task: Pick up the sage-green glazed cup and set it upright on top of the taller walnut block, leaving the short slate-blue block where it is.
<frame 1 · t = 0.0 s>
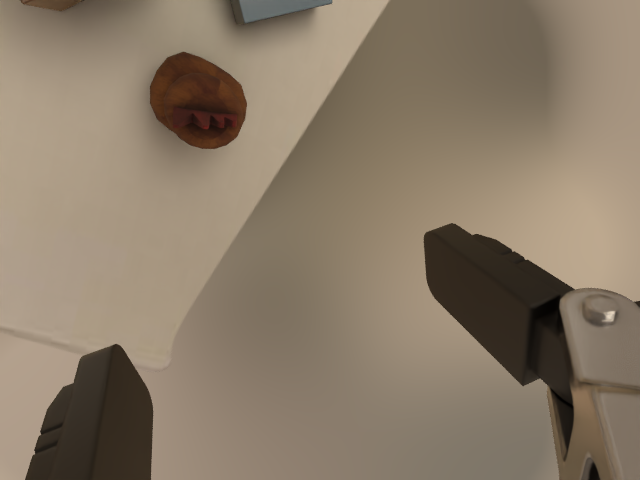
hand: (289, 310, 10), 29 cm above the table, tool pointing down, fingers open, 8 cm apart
wooden figurine: (195, 93, 34), on the table
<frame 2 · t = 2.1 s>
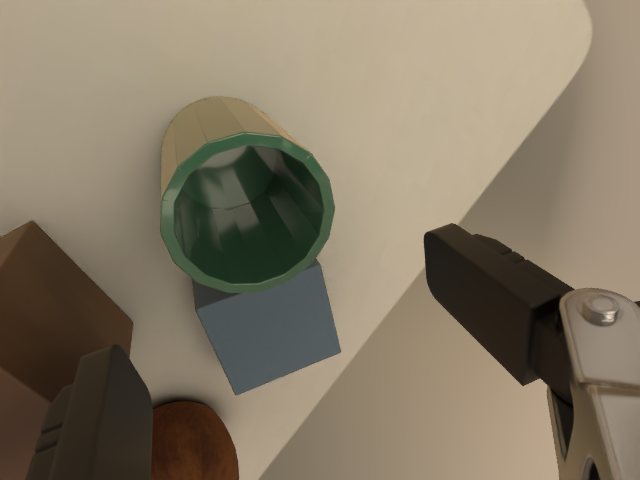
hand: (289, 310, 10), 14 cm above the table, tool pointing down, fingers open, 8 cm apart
wooden figurine: (179, 416, 29), on the table
cup: (224, 157, 22), on the table
walnut block: (21, 312, 22), on the table
slate block: (262, 295, 27), on the table
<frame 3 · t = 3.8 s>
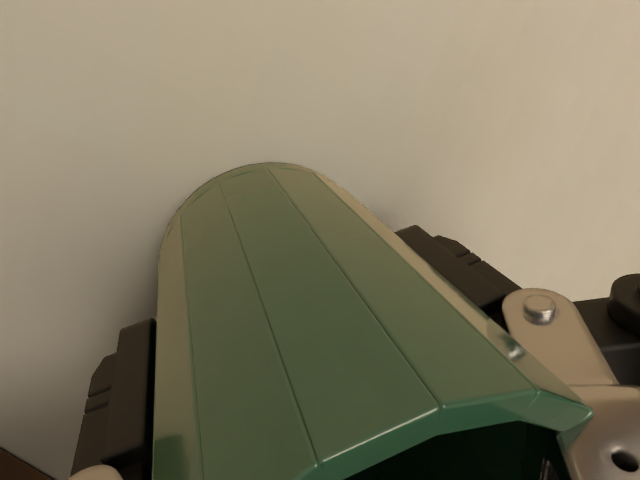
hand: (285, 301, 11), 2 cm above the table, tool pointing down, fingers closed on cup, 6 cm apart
cup: (269, 262, 12), on the table, touching gripper
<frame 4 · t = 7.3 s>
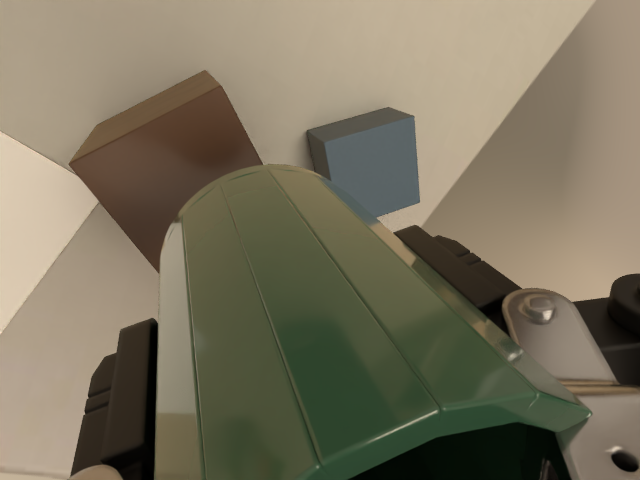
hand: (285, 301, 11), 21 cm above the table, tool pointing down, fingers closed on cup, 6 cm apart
cup: (269, 263, 12), point 19 cm above the table, touching gripper
walnut block: (185, 150, 29), on the table
slate block: (354, 160, 33), on the table
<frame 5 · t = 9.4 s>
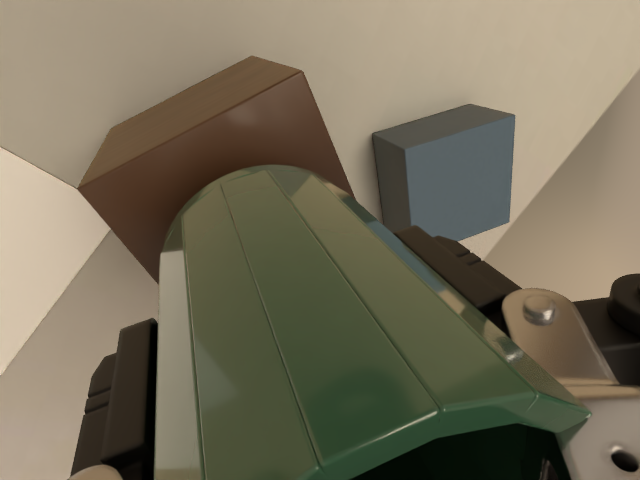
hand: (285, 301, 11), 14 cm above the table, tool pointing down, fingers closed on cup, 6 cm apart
cup: (269, 264, 12), point 12 cm above the table, touching gripper
walnut block: (222, 159, 22), on the table
slate block: (425, 169, 27), on the table
when the fingers open (11 cm above the table, at t = 10.9 s): cup stays where it is, resting on walnut block.
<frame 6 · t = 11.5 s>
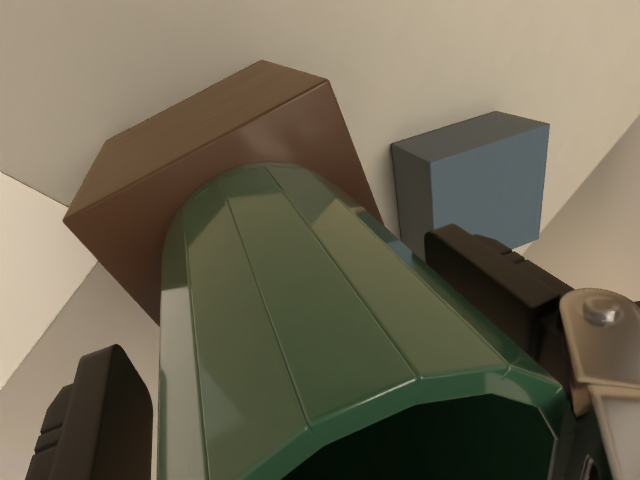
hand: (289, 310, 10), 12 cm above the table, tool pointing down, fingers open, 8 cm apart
cup: (267, 258, 13), point 9 cm above the table, touching walnut block
walnut block: (229, 173, 20), on the table, touching cup
slate block: (447, 182, 25), on the table
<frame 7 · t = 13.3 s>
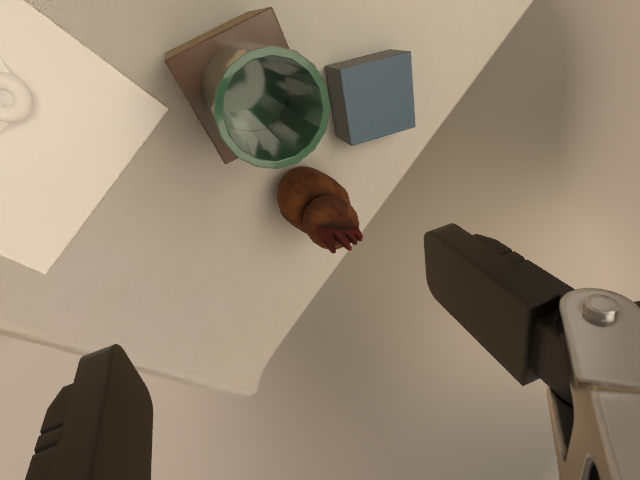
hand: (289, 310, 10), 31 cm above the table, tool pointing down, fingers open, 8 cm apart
wooden figurine: (300, 186, 44), on the table
cup: (247, 90, 29), point 9 cm above the table, touching walnut block
walnut block: (230, 77, 36), on the table, touching cup
slate block: (362, 94, 41), on the table
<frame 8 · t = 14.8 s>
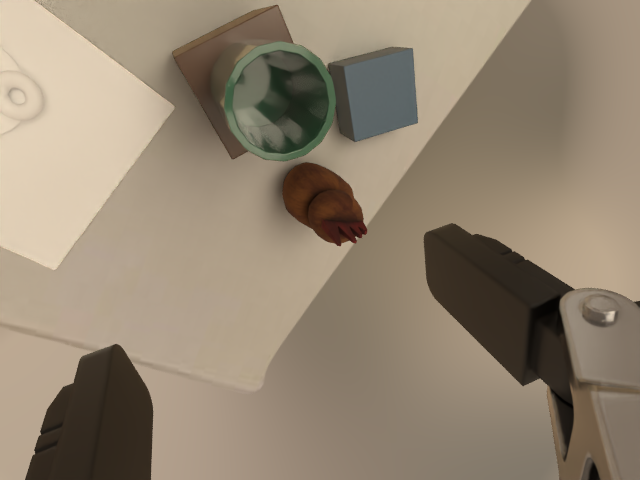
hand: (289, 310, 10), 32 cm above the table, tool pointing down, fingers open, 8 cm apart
wooden figurine: (304, 183, 44), on the table
cup: (254, 87, 30), point 9 cm above the table, touching walnut block
walnut block: (235, 75, 37), on the table, touching cup
slate block: (365, 91, 42), on the table
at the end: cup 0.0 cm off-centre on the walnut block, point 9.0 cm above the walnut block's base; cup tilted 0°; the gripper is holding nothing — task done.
